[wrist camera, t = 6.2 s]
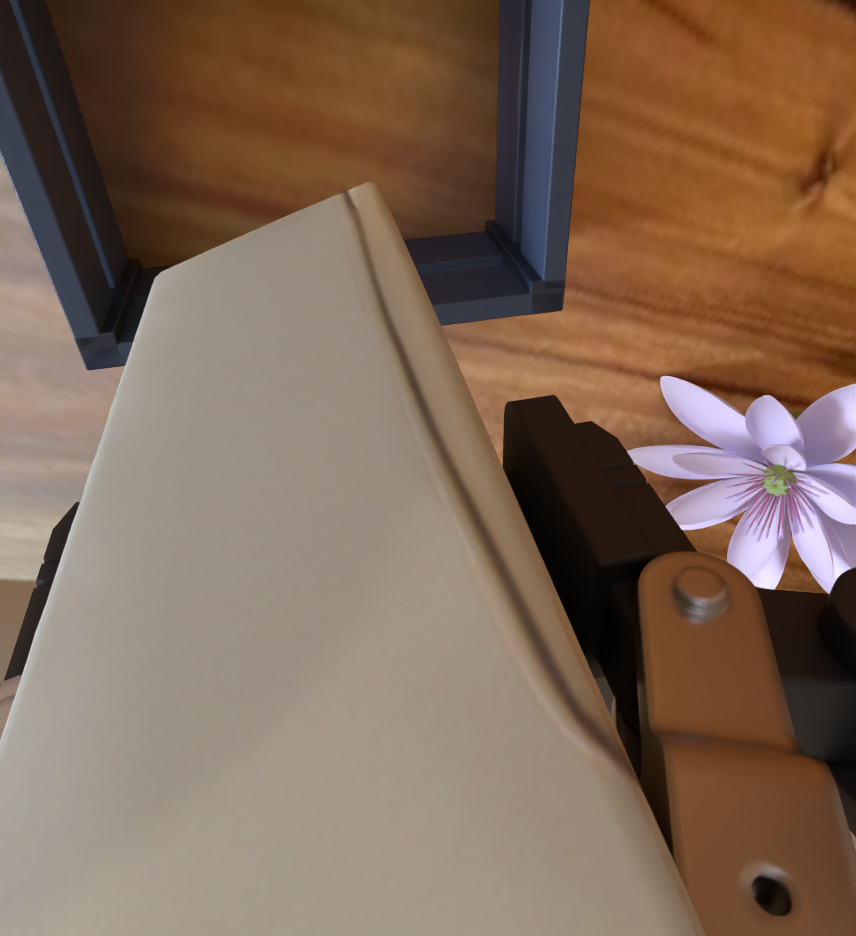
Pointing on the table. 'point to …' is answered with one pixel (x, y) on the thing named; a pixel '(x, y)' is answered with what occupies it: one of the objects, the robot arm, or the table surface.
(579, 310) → the table surface
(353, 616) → the cosmetic box
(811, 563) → the water lily
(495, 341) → the table surface
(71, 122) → the crate
